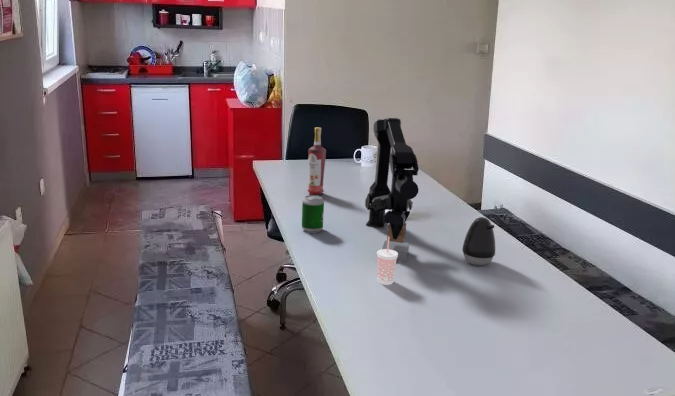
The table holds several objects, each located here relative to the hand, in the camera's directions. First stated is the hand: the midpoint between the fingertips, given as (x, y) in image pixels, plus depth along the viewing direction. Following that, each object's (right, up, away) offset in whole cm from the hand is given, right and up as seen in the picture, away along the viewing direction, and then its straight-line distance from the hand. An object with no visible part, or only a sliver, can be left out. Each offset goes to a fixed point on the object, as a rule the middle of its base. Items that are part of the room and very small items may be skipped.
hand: (396, 236), depth 202 cm
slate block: (0, -7, +2) cm, 7 cm away
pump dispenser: (+26, -9, -1) cm, 27 cm away
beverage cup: (-5, -12, -18) cm, 22 cm away
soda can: (-28, +1, +21) cm, 35 cm away
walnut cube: (0, -1, 0) cm, 1 cm away
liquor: (-28, +14, +62) cm, 70 cm away
